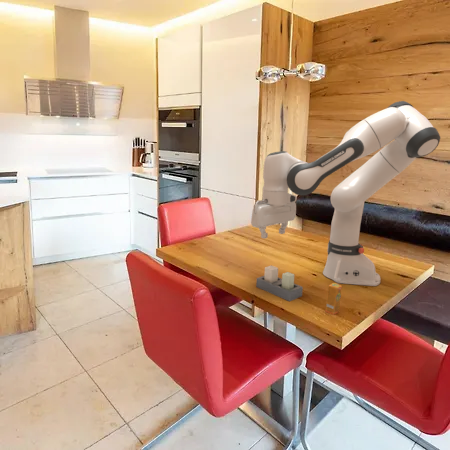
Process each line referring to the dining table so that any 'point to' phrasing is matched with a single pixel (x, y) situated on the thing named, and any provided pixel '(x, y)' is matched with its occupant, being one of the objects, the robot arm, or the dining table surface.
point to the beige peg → (288, 280)
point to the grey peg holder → (279, 289)
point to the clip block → (271, 274)
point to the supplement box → (333, 298)
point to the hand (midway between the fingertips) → (273, 235)
